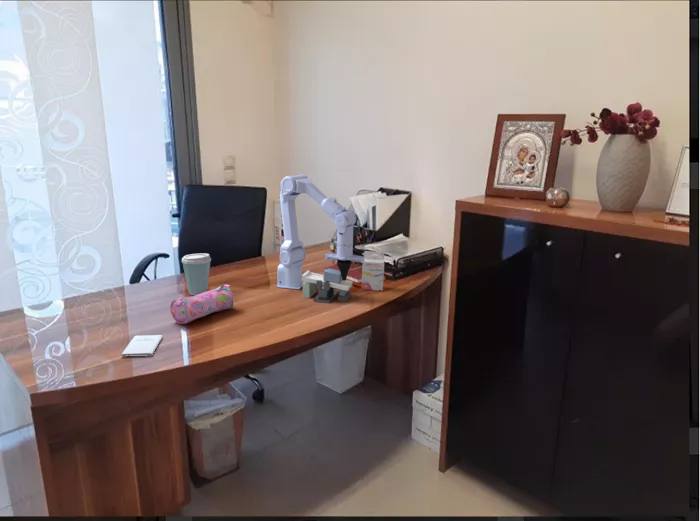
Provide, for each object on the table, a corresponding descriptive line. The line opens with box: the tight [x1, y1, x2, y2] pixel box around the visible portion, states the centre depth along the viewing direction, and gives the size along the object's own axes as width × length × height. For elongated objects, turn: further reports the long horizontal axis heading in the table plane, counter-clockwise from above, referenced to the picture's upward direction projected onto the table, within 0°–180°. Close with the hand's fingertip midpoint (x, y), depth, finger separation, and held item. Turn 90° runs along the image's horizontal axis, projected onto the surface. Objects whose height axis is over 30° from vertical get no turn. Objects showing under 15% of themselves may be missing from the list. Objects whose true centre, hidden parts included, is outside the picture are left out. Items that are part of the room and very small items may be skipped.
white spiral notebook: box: [121, 334, 164, 356], centre depth 143 cm, size 2×8×12 cm
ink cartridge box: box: [361, 250, 385, 292], centre depth 196 cm, size 9×5×15 cm, turn 84°
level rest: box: [302, 281, 316, 299], centre depth 189 cm, size 2×7×6 cm, turn 165°
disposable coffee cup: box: [181, 252, 212, 296], centre depth 187 cm, size 11×11×15 cm
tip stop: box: [337, 290, 352, 303], centre depth 186 cm, size 3×7×2 cm, turn 165°
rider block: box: [323, 267, 342, 284], centre depth 185 cm, size 6×4×4 cm
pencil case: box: [169, 284, 235, 325], centre depth 166 cm, size 21×9×9 cm, turn 143°
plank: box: [301, 269, 353, 296], centre depth 186 cm, size 18×10×4 cm, turn 76°
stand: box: [313, 280, 340, 304], centre depth 187 cm, size 6×13×8 cm, turn 165°
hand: (344, 279), depth 184 cm, fingers closed
